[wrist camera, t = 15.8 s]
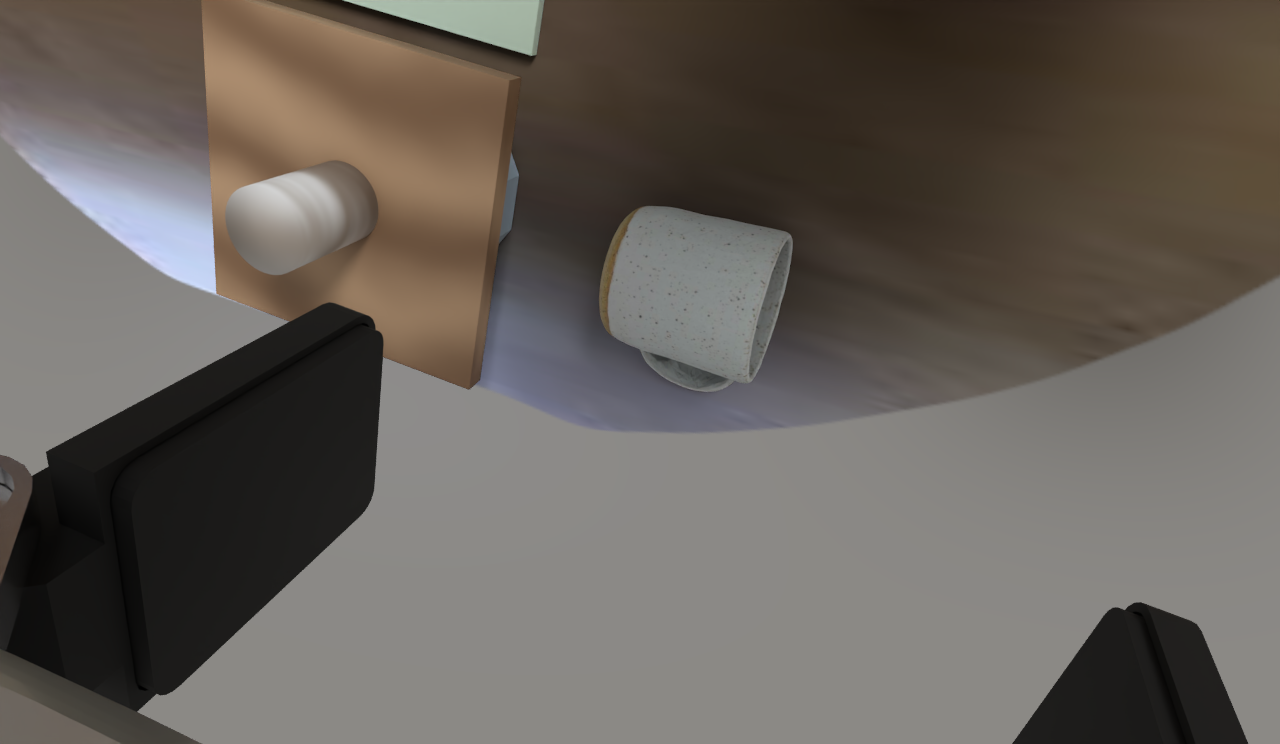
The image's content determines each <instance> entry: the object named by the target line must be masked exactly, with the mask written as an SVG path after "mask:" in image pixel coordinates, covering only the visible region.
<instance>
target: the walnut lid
mask: <svg viewBox="0 0 1280 744" xmlns="http://www.w3.org/2000/svg"><path fill="white" fill-rule="evenodd" d="M201 1H202V21H203V40H204V60H205V79H206V99H207V118H208V138H209V157H210V176H211V196H212V215H213V235H214V254H215V274H216V293H217V294H219V295H221V296H224V297H226V298H229V299H232V300H234V301H237V302H240V303H242V304H245V305H247V306H250V307H253V308H255V309H258V310H261V311H263V312H266V313H269V314H271V315H274V316H276V317H279V318H282V319H284V320H287V321H292V320H294V319H296V318H298V317H300V316H302V315H303V314H305V313H307V312H309V311H311V310H313V309H315V308H317V307H318V306H320V305H322V304H325V303H328V302H331V303H336V304H338V305H341V306H344V307H347V308H349V309H352V310H355V311H357V312H360V313H363V314H365V315H368V316H370V317H371V318H372V319H373V320H374V323H375V327H376V330H377V331H379V332H380V333H382V336H383V341H384V346H383V357H384V358H387V359H390V360H392V361H395V362H397V363H400V364H403V365H405V366H408V367H411V368H413V369H416V370H419V371H421V372H424V373H426V374H429V375H432V376H434V377H437V378H440V379H442V380H445V381H447V382H450V383H453V384H456V385H458V386H461V387H463V388H466V389H470V388H472V387H473V386H474V385H475V384H476V383H477V382H478V381H479V380H480V376H481V369H482V362H483V354H484V347H485V340H486V332H487V325H488V318H489V311H490V303H491V296H492V289H493V281H494V274H495V267H496V260H497V252H498V245H499V238H500V231H501V223H502V216H503V209H504V201H505V194H506V187H507V180H508V172H509V165H510V158H511V151H512V143H513V136H514V129H515V121H516V114H517V107H518V100H519V92H520V85H521V78H522V77H518V76H515V75H512V74H508V73H505V72H502V71H498V70H495V69H492V68H488V67H485V66H482V65H478V64H475V63H472V62H468V61H465V60H462V59H458V58H455V57H452V56H448V55H445V54H442V53H439V52H435V51H432V50H429V49H425V48H422V47H419V46H415V45H412V44H409V43H405V42H402V41H399V40H395V39H392V38H389V37H385V36H382V35H379V34H375V33H372V32H369V31H365V30H362V29H359V28H355V27H352V26H349V25H345V24H342V23H339V22H335V21H332V20H329V19H325V18H322V17H319V16H315V15H312V14H309V13H305V12H302V11H299V10H295V9H292V8H289V7H286V6H282V5H279V4H276V3H272V2H269V1H266V0H201Z"/></svg>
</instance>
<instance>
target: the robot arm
mask: <svg viewBox="0 0 1280 744" xmlns="http://www.w3.org/2000/svg"><path fill="white" fill-rule="evenodd" d="M383 346H384V341H383V336H382V333H380V332H379V331H377V330H376V327H375V323H374V320H373V319H372V318H371V317H370V316H368V315H365V314H363V313H360V312H357V311H355V310H352V309H349V308H347V307H344V306H341V305H338V304H336V303H331V302H328V303H325V304H322V305H320V306H318V307H317V308H315V309H313V310H311V311H309V312H307V313H305V314H303V315H302V316H300V317H298V318H296V319H294V320H292V321H290V322H288V323H287V324H285V325H283V326H281V327H279V328H277V329H276V330H274V331H272V332H270V333H268V334H266V335H264V336H262V337H260V338H259V339H257V340H255V341H253V342H251V343H249V344H247V345H246V346H244V347H242V348H240V349H238V350H236V351H234V352H233V353H230V354H229V355H227V356H225V357H223V358H221V359H219V360H217V361H215V362H214V363H212V364H210V365H208V366H206V367H204V368H202V369H201V370H198V371H197V372H195V373H193V374H191V375H189V376H187V377H185V378H183V379H182V380H180V381H178V382H176V383H174V384H172V385H170V386H169V387H167V388H165V389H163V390H161V391H160V392H157V393H155V394H154V395H152V396H150V397H148V398H146V399H144V400H142V401H140V402H139V403H137V404H135V405H133V406H131V407H129V408H127V409H125V410H124V411H122V412H120V413H118V414H116V415H114V416H112V417H110V418H109V419H107V420H105V421H103V422H101V423H99V424H97V425H95V426H94V427H92V428H90V429H88V430H86V431H84V432H82V433H80V434H79V435H77V436H75V437H73V438H71V439H69V440H67V441H65V442H64V443H62V444H60V445H58V446H56V447H54V448H52V449H50V450H49V451H47V452H46V454H47V460H48V465H49V467H47V468H45V469H44V470H42V471H40V472H38V473H36V474H35V475H33V476H31V474H30V473H29V471H28V470H27V468H26V467H25V466H24V465H23V464H21V463H19V462H17V461H16V460H14V459H12V458H10V457H7V456H3V455H0V744H201V743H199V742H197V741H195V740H193V739H191V738H189V737H187V736H185V735H183V734H181V733H179V732H177V731H175V730H173V729H171V728H168V727H167V726H164V725H162V724H160V723H158V722H156V721H154V720H152V719H150V718H148V717H146V716H144V715H142V714H140V713H138V712H137V711H138V710H139V709H140V708H142V707H143V705H145V704H146V703H147V702H148V701H149V700H150V699H151V698H152V697H154V696H155V695H156V694H159V695H166V694H168V693H170V692H172V691H174V690H175V689H176V688H177V687H179V686H180V685H181V684H182V683H183V682H184V681H185V680H186V679H187V678H188V677H190V675H192V674H193V673H194V672H195V671H196V670H197V669H198V668H199V667H200V666H201V665H202V664H203V663H204V662H205V661H207V660H208V659H209V658H210V657H211V656H212V655H213V654H214V653H215V652H216V651H217V650H218V649H219V648H220V647H221V646H222V645H224V644H225V643H226V642H227V641H228V640H229V639H230V638H231V637H232V636H233V635H234V634H235V633H236V632H237V631H238V630H239V629H241V628H242V627H243V625H245V624H246V623H247V622H248V621H249V620H250V619H251V618H252V617H253V616H254V615H255V614H256V613H257V612H259V611H260V610H261V609H262V608H263V607H264V606H265V605H266V604H267V603H268V602H269V601H270V600H271V599H273V598H274V597H275V596H276V595H277V594H278V593H279V592H280V591H281V590H282V589H283V588H284V587H285V586H286V585H287V584H288V583H289V582H291V581H292V580H293V579H294V578H295V577H296V576H297V575H298V574H299V573H300V572H301V571H302V570H303V569H304V568H305V567H307V565H309V564H310V563H311V562H312V561H313V560H314V559H315V558H316V557H317V556H318V555H319V554H320V553H321V552H322V551H323V550H325V549H326V548H327V547H328V546H329V545H330V544H331V543H332V542H333V541H334V540H335V539H336V538H337V537H338V536H340V534H342V533H343V532H344V531H345V530H346V529H347V528H348V527H349V526H350V525H351V524H352V523H353V522H354V521H355V520H356V519H358V518H359V517H360V516H361V515H362V514H363V512H364V511H365V510H366V508H367V507H368V505H369V503H370V501H371V499H372V496H373V492H374V482H375V467H376V452H377V437H378V422H379V421H378V420H379V407H380V391H381V376H382V361H383ZM1012 744H1248V742H1247V740H1246V737H1245V735H1244V732H1243V730H1242V728H1241V725H1240V723H1239V720H1238V718H1237V715H1236V713H1235V711H1234V708H1233V706H1232V703H1231V701H1230V699H1229V696H1228V694H1227V691H1226V689H1225V687H1224V684H1223V682H1222V680H1221V677H1220V675H1219V672H1218V670H1217V668H1216V666H1215V663H1214V660H1213V658H1212V655H1211V653H1210V651H1209V648H1208V646H1207V643H1206V641H1205V639H1204V636H1203V634H1202V631H1201V630H1200V628H1199V627H1198V626H1197V624H1195V623H1193V622H1192V621H1190V620H1187V619H1184V618H1181V617H1179V616H1176V615H1174V614H1171V613H1168V612H1165V611H1163V610H1160V609H1157V608H1154V607H1152V606H1149V605H1147V604H1144V603H1141V602H1140V603H1133V604H1132V605H1130V606H1128V607H1127V608H1126V610H1123V609H1120V608H1112V609H1111V610H1109V611H1108V612H1107V613H1106V614H1105V615H1104V616H1103V618H1102V619H1101V621H1100V622H1099V623H1098V625H1097V626H1096V628H1095V629H1094V630H1093V632H1092V633H1091V635H1090V636H1089V637H1088V639H1087V640H1086V642H1085V643H1084V644H1083V646H1082V647H1081V648H1080V650H1079V651H1078V653H1077V654H1076V656H1075V657H1074V658H1073V660H1072V661H1071V663H1070V664H1069V665H1068V667H1067V668H1066V669H1065V671H1064V672H1063V674H1062V675H1061V676H1060V678H1059V679H1058V681H1057V682H1056V683H1055V685H1054V686H1053V688H1052V689H1051V690H1050V692H1049V693H1048V695H1047V696H1046V698H1045V699H1044V700H1043V702H1042V703H1041V704H1040V706H1039V707H1038V709H1037V710H1036V711H1035V713H1034V714H1033V716H1032V717H1031V718H1030V720H1029V721H1028V723H1027V724H1026V725H1025V727H1024V728H1023V730H1022V731H1021V732H1020V734H1019V735H1018V737H1017V738H1016V739H1015V741H1014V742H1013V743H1012Z"/></svg>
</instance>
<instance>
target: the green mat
mask: <svg viewBox="0 0 1280 744" xmlns="http://www.w3.org/2000/svg"><path fill="white" fill-rule="evenodd" d="M344 1H347V2H351V3H354V4H358V5H361V6H364V7H368V8H371V9H374V10H378V11H381V12H385V13H388V14H391V15H395V16H398V17H402V18H405V19H408V20H412V21H415V22H419V23H422V24H425V25H429V26H432V27H436V28H439V29H442V30H446V31H449V32H452V33H456V34H459V35H463V36H466V37H469V38H473V39H476V40H480V41H483V42H486V43H490V44H493V45H497V46H500V47H503V48H507V49H510V50H513V51H517V52H520V53H524V54H527V55H530V56H533V55H537V48H538V41H539V34H540V27H541V20H542V13H543V6H544V0H344Z"/></svg>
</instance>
